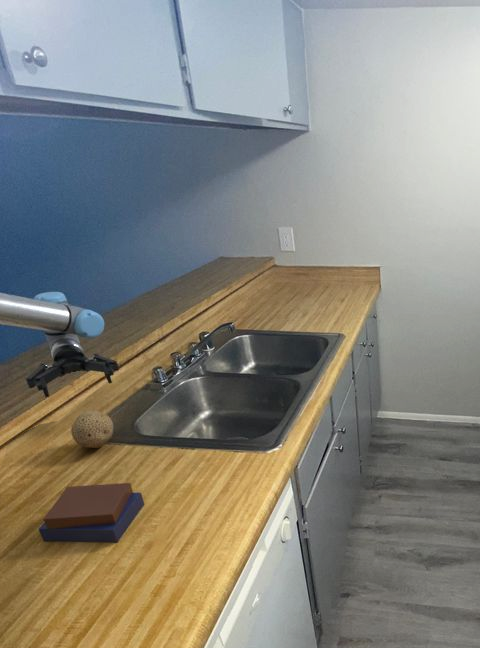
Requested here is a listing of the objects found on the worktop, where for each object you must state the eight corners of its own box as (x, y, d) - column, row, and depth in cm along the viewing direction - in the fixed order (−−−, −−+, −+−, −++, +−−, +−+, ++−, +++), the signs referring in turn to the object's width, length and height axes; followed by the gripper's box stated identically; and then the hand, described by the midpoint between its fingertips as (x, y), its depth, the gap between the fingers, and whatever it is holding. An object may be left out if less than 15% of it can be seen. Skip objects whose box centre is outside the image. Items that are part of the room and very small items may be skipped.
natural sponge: (119, 452, 117) (109, 417, 112) (77, 462, 113) (64, 426, 108) (117, 434, 124) (107, 401, 119) (77, 443, 119) (65, 409, 115)
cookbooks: (43, 541, 90) (33, 519, 88) (78, 502, 100) (70, 481, 98) (117, 542, 91) (109, 520, 88) (144, 504, 101) (138, 482, 98)
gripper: (121, 359, 142) (136, 385, 127) (18, 379, 128) (22, 411, 114) (115, 335, 138) (129, 360, 124) (8, 354, 125) (11, 384, 110)
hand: (78, 385), depth 119 cm, fingers open, 13 cm apart
